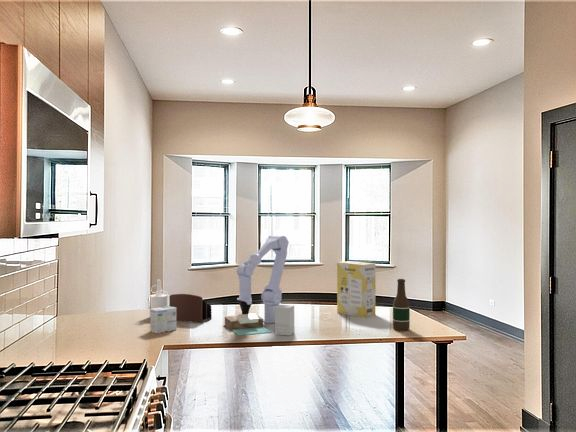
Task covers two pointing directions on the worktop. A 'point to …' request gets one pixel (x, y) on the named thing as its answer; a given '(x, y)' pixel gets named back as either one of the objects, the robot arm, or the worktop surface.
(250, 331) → the mat
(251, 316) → the cream white block
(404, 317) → the beer bottle
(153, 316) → the light bulb box
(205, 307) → the letter holder
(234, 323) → the board
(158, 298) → the white necked piece
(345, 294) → the pasta box
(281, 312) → the supplement box
